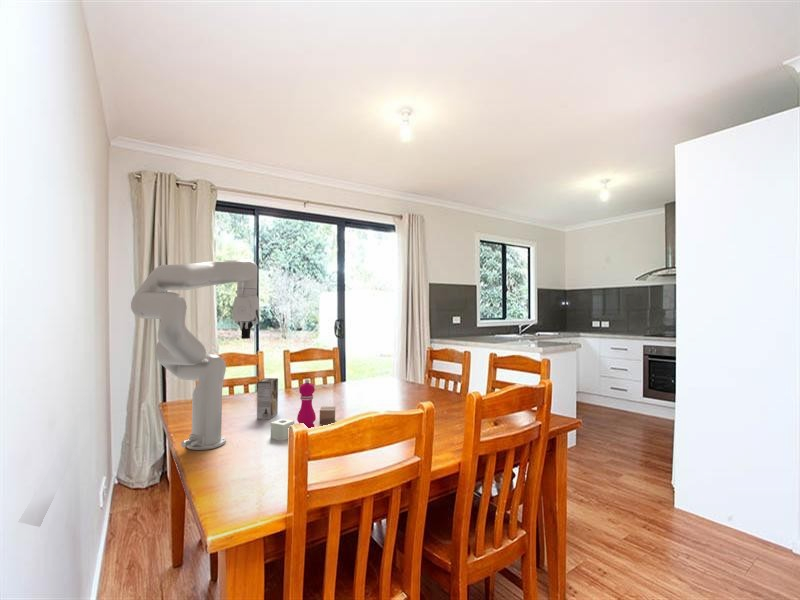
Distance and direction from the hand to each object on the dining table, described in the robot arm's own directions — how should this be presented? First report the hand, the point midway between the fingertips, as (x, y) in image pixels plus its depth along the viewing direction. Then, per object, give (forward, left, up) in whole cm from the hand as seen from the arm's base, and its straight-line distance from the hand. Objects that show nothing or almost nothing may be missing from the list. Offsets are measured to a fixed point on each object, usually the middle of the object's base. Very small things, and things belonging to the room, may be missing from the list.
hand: (245, 338), depth 162 cm
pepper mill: (+5, -25, -36) cm, 44 cm away
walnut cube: (+16, -29, -36) cm, 49 cm away
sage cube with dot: (-6, -21, -36) cm, 42 cm away
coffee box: (+16, 0, -36) cm, 39 cm away
